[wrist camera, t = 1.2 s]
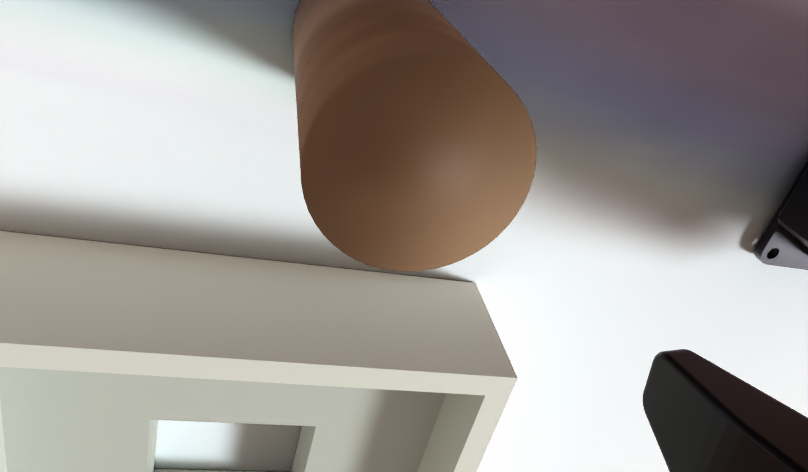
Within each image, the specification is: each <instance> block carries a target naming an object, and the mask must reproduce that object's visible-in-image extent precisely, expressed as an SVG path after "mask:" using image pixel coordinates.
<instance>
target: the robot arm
mask: <svg viewBox="0 0 808 472" xmlns="http://www.w3.org/2000/svg"><path fill="white" fill-rule="evenodd" d="M754 255H755V256H756V257H757V258H758V259H759V260H760V261H761V262H762V263H765V264H769V265H776V266H783V267H791V268H798V269H805V270H808V162H807V163H806V165H805V166H804V168H803V170H802V171H801V173H800V175H799V176H798V178H797V180H796V181H795V183H794V185H793V186H792V188H791V190H790V191H789V193H788V195H787V196H786V198H785V199H784V201H783V203H782V204H781V206H780V208H779V209H778V211H777V213H776V214H775V216H774V218H773V219H772V221H771V223H770V224H769V226H768V228H767V229H766V231H765V233H764V234H763V236H762V237H761V239H760V241H759V242H758V244H757V246H756V248H755V250H754ZM643 406H644V410H645V413H646V416H647V418H648V420H649V423H650V425H651V428H652V430H653V433H654V435H655V437H656V440H657V442H658V445H659V447H660V449H661V452H662V454H663V457H664V459H665V461H666V464H667V466H668V469H669V471H670V472H808V418H807V417H805V416H804V415H802V414H800V413H798V412H797V411H795V410H793V409H791V408H790V407H788V406H786V405H784V404H783V403H781V402H779V401H777V400H776V399H774V398H772V397H770V396H769V395H767V394H765V393H764V392H762V391H760V390H758V389H757V388H755V387H753V386H751V385H750V384H748V383H746V382H744V381H743V380H741V379H739V378H737V377H736V376H734V375H732V374H730V373H729V372H727V371H725V370H723V369H722V368H720V367H718V366H717V365H715V364H713V363H711V362H710V361H708V360H706V359H704V358H703V357H701V356H699V355H697V354H696V353H694V352H692V351H690V350H685V349H680V350H672V351H663V352H660V353H658V354H657V355H656V356H655V358H654V360H653V363H652V366H651V370H650V373H649V376H648V379H647V383H646V386H645V389H644V393H643Z"/></svg>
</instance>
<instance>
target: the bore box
mask: <svg viewBox="0 0 808 472" xmlns="http://www.w3.org/2000/svg"><path fill="white" fill-rule="evenodd" d="M516 380H517V376H516V374H515V372H514V369H513V367H512V365H511V363H510V360H509V358H508V356H507V353H506V351H505V349H504V347H503V344H502V342H501V340H500V338H499V335H498V333H497V331H496V329H495V326H494V324H493V322H492V320H491V317H490V315H489V313H488V311H487V308H486V306H485V304H484V302H483V299H482V297H481V295H480V293H479V290H478V288H477V286H476V284H475V283H472V282H463V281H454V280H444V279H435V278H426V277H417V276H408V275H399V274H390V273H381V272H371V271H362V270H353V269H344V268H335V267H326V266H317V265H308V264H298V263H289V262H280V261H271V260H262V259H253V258H244V257H235V256H226V255H216V254H207V253H198V252H189V251H180V250H171V249H162V248H153V247H143V246H134V245H125V244H116V243H107V242H98V241H89V240H80V239H70V238H61V237H52V236H43V235H34V234H25V233H16V232H7V231H0V472H265V471H220V470H176V469H154V463H155V449H156V435H157V421H158V420H175V421H198V422H222V423H246V424H270V425H294V426H302V427H301V431H300V436H299V440H298V444H297V449H296V453H295V457H294V462H293V466H292V470H291V472H476V471H477V468H478V466H479V464H480V462H481V459H482V457H483V455H484V453H485V450H486V448H487V446H488V443H489V441H490V439H491V437H492V434H493V432H494V430H495V428H496V425H497V423H498V421H499V419H500V416H501V414H502V412H503V409H504V407H505V405H506V403H507V400H508V398H509V396H510V394H511V391H512V389H513V387H514V385H515V382H516Z"/></svg>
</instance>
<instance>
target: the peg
mask: <svg viewBox="0 0 808 472" xmlns="http://www.w3.org/2000/svg"><path fill="white" fill-rule="evenodd" d="M292 34H293V52H294V69H295V85H296V102H297V118H298V135H299V151H300V168H301V184H302V189H303V195H304V199H305V202H306V205H307V208H308V210H309V213H310V215H311V216H312V218H313V220H314V222H315V224H316V225H317V227H318V228H319V229H320V231H321V232H322V233H323V235H324V236H325V237H326V238H327V239H328V240H329V241H330V242H331V243H332V244H333V245H334V246H336V247H337V248H338V249H339V250H341V251H342V252H343V253H345V254H347V255H348V256H350V257H352V258H353V259H355V260H358V261H360V262H362V263H365V264H367V265H370V266H374V267H377V268H380V269H386V270H392V271H406V272H409V271H424V270H430V269H436V268H439V267H443V266H447V265H450V264H452V263H455V262H458V261H460V260H463V259H465V258H466V257H468V256H470V255H472V254H474V253H476V252H477V251H479V250H480V249H482V248H483V247H485V246H486V245H488V244H489V243H490V242H491V241H493V240H494V239H495V238H496V237H497V236H498V235H499V234H500V233H501V232H502V231H503V230H504V229H505V228H506V227H507V226H508V225H509V224H510V222H511V221H512V220H513V219H514V217H515V216H516V215H517V213H518V211H519V210H520V208H521V206H522V205H523V203H524V201H525V199H526V196H527V194H528V192H529V190H530V186H531V183H532V180H533V177H534V171H535V165H536V141H535V134H534V130H533V126H532V122H531V120H530V117H529V115H528V113H527V110H526V108H525V107H524V105H523V103H522V102H521V100H520V98H519V97H518V96H517V94H516V93H515V92H514V91H513V90H512V88H511V87H510V86H509V85H508V84H507V83H506V82H505V81H504V80H503V79H502V78H501V77H500V75H499V74H498V73H497V72H496V71H495V70H494V69H493V68H492V67H491V66H490V65H489V64H488V63H487V62H486V61H485V60H484V58H483V57H482V56H481V55H480V54H479V53H478V52H477V51H476V50H475V49H474V48H473V47H472V46H471V45H470V44H469V43H468V42H467V40H466V39H465V38H464V37H463V36H462V35H461V34H460V33H459V32H458V31H457V30H456V29H455V28H454V27H453V26H452V25H451V24H450V22H449V21H448V20H447V19H446V18H445V17H444V16H443V15H442V14H441V13H440V12H439V11H438V10H437V9H436V8H435V7H434V6H433V4H432V3H431V2H430V1H429V0H300V1H299V3H298V6H297V9H296V11H295V15H294V20H293V29H292Z"/></svg>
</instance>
